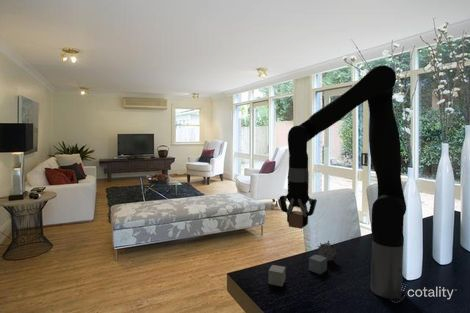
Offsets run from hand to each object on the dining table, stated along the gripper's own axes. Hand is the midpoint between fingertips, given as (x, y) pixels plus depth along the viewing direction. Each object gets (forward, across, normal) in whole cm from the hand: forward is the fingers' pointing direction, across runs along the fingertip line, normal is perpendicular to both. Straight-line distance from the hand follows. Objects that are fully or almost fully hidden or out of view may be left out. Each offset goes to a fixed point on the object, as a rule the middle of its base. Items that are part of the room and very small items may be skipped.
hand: (297, 224), depth 110 cm
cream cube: (+19, +4, +9) cm, 22 cm away
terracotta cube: (0, 0, 0) cm, 0 cm away
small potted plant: (+20, -7, -18) cm, 28 cm away
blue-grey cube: (+19, -6, -8) cm, 22 cm away
